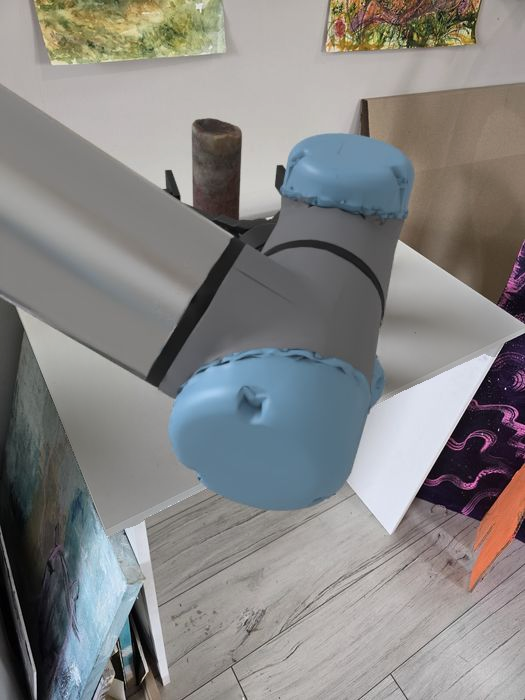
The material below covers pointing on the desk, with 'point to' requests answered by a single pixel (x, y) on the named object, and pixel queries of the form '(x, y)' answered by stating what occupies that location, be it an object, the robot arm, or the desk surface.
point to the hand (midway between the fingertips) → (225, 178)
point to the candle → (216, 167)
